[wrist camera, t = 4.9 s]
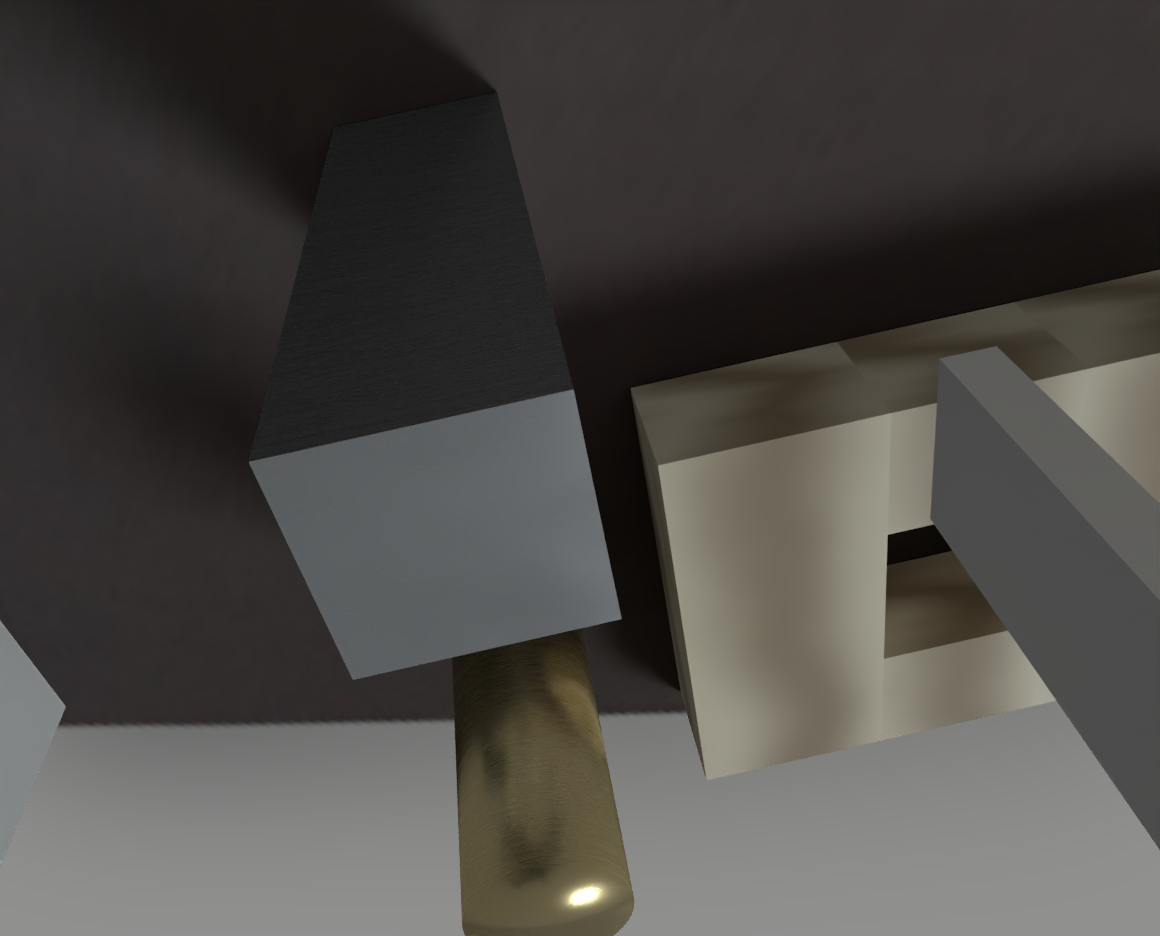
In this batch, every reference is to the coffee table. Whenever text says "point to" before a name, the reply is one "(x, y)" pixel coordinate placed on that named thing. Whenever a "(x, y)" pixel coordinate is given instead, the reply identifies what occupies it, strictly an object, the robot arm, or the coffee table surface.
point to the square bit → (429, 405)
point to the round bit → (535, 795)
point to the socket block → (861, 523)
